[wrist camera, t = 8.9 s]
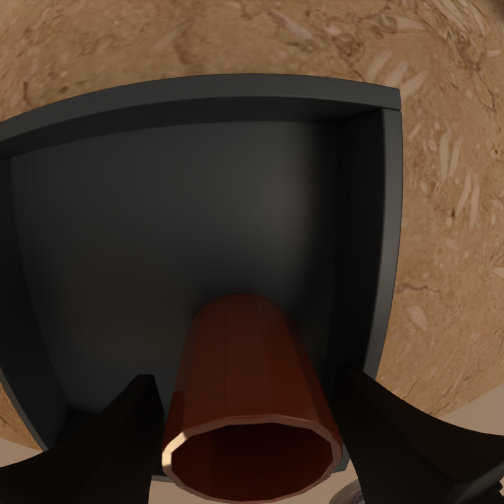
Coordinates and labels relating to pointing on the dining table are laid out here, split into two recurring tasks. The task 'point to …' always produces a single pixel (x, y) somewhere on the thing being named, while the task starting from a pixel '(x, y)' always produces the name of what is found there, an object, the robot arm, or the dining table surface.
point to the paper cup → (248, 407)
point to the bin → (191, 231)
